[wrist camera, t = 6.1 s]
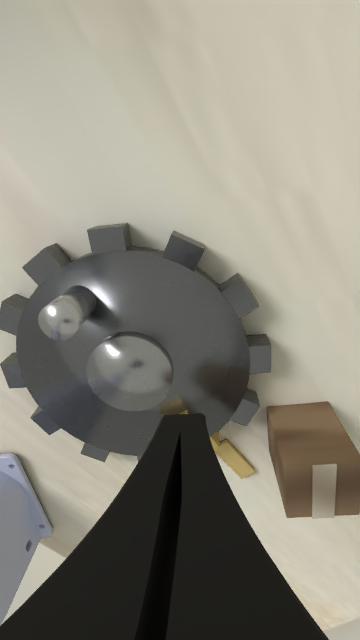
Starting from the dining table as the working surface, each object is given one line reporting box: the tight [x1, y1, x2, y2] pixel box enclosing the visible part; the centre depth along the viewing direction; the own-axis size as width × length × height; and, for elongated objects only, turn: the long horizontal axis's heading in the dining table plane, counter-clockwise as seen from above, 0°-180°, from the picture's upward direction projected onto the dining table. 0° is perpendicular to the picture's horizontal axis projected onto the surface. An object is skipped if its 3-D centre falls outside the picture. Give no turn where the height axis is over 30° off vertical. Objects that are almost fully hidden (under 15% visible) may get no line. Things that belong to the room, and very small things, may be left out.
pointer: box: [215, 439, 255, 479], centre depth 23 cm, size 4×1×1 cm, turn 39°
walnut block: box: [267, 402, 360, 519], centre depth 19 cm, size 4×4×5 cm
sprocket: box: [0, 223, 271, 462], centre depth 18 cm, size 16×16×4 cm
